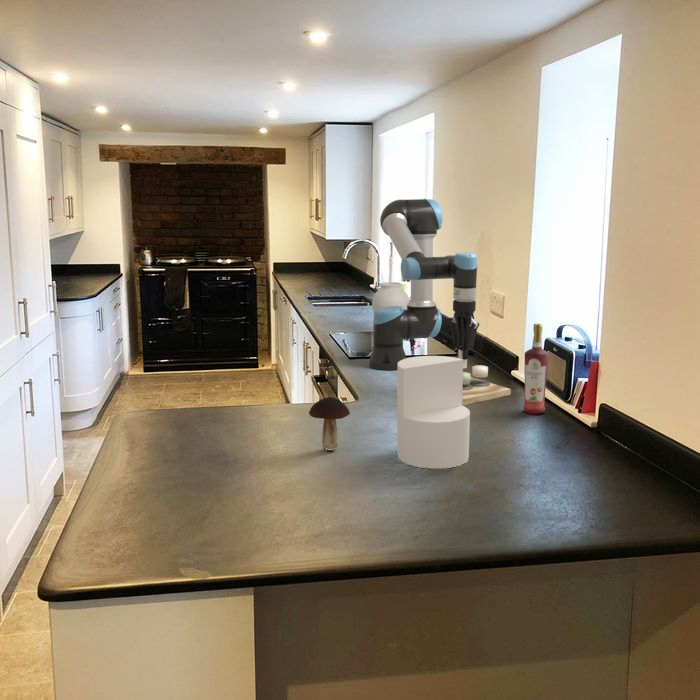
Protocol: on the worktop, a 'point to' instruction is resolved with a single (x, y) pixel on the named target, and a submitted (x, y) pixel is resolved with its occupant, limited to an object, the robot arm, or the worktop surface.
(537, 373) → the liquor
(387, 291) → the vase
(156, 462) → the worktop surface
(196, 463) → the worktop surface
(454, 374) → the cylinder
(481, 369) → the cream button
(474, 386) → the button board
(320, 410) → the decorative mushroom
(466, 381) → the sage button
